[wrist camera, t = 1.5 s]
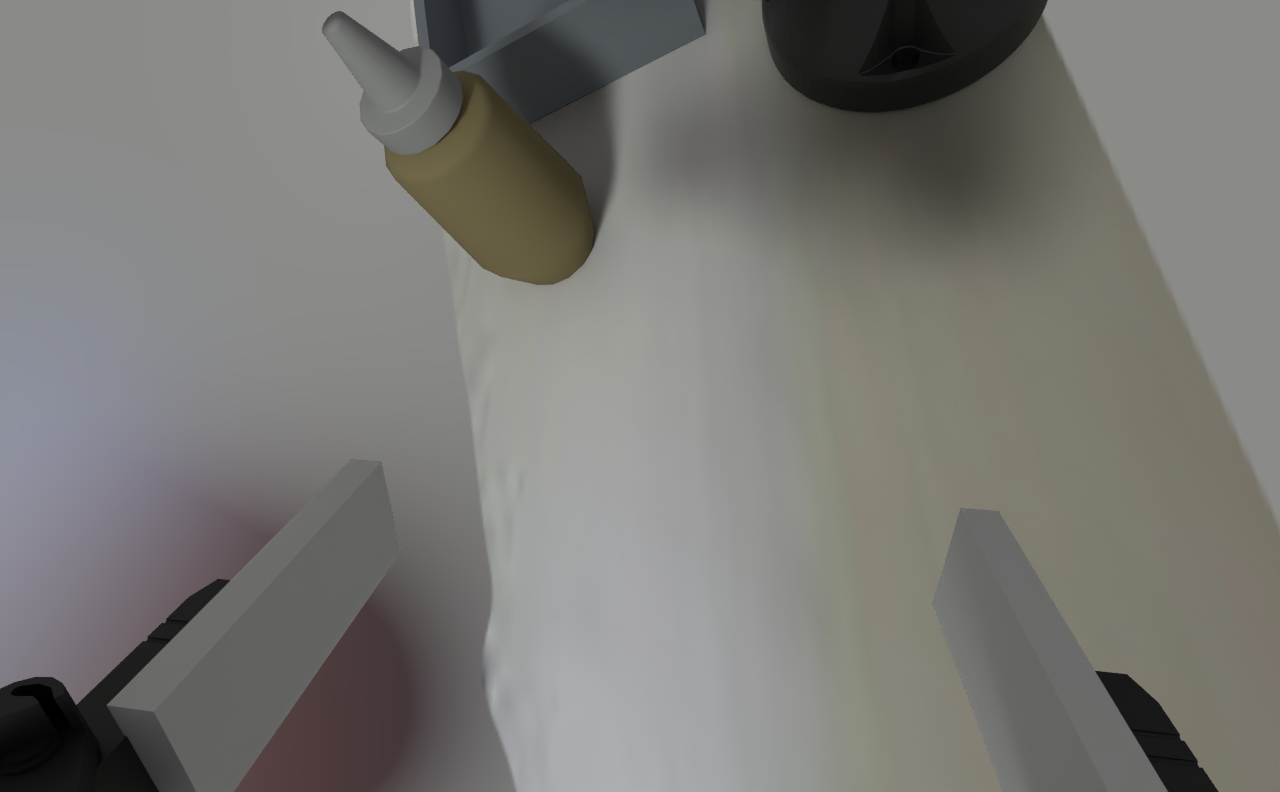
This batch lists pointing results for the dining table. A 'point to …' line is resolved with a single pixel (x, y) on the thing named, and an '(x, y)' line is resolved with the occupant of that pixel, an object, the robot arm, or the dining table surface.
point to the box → (553, 43)
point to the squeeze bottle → (469, 158)
